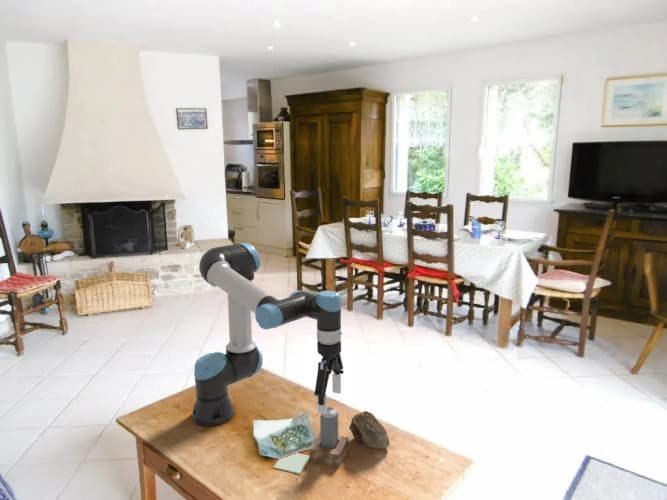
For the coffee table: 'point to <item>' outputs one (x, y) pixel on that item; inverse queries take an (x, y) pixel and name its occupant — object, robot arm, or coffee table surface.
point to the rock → (369, 431)
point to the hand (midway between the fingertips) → (329, 402)
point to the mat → (293, 463)
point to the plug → (329, 428)
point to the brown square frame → (329, 452)
